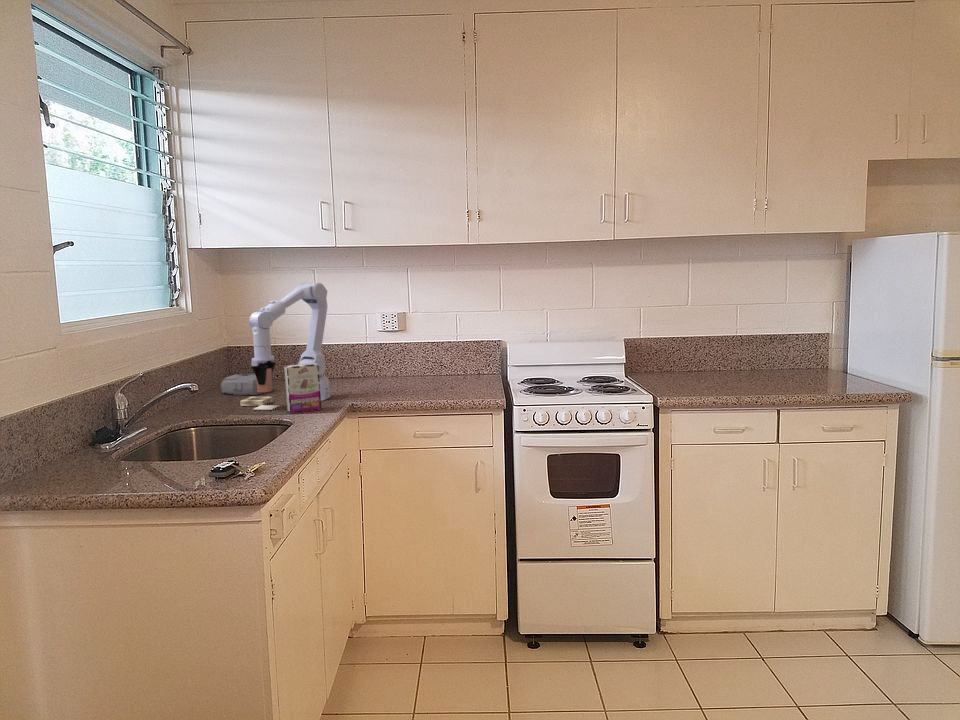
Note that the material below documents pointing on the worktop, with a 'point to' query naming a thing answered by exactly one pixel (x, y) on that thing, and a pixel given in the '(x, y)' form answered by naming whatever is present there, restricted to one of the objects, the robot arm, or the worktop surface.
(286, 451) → the worktop surface
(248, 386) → the grey rounded bag
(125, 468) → the worktop surface
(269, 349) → the robot arm
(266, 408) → the mat
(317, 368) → the candy bar box
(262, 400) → the pocket holder
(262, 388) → the peg
